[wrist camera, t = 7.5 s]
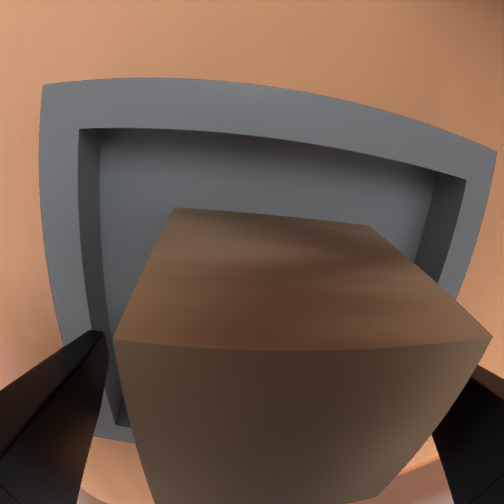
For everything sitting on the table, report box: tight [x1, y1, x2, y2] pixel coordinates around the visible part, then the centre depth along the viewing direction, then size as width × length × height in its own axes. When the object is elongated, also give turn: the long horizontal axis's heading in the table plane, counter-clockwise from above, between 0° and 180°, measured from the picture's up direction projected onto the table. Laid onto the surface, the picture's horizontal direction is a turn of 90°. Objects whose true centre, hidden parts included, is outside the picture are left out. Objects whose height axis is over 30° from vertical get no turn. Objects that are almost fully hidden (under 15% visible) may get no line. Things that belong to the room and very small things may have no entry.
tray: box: [39, 78, 497, 443], centre depth 10 cm, size 13×13×2 cm
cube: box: [113, 207, 493, 504], centre depth 8 cm, size 6×6×6 cm
